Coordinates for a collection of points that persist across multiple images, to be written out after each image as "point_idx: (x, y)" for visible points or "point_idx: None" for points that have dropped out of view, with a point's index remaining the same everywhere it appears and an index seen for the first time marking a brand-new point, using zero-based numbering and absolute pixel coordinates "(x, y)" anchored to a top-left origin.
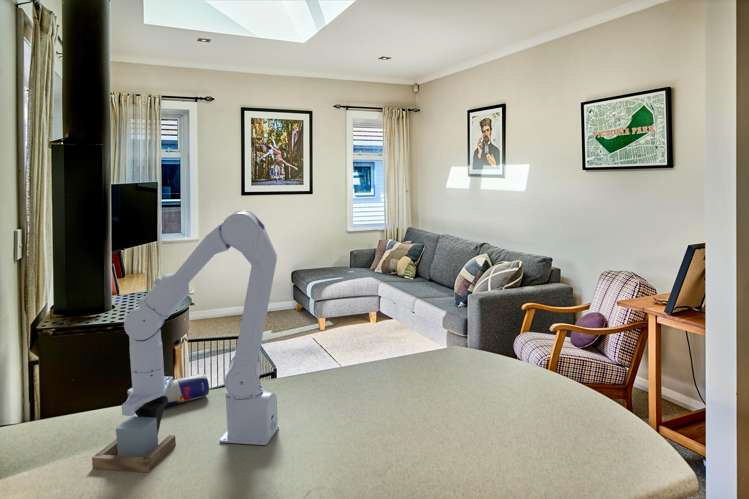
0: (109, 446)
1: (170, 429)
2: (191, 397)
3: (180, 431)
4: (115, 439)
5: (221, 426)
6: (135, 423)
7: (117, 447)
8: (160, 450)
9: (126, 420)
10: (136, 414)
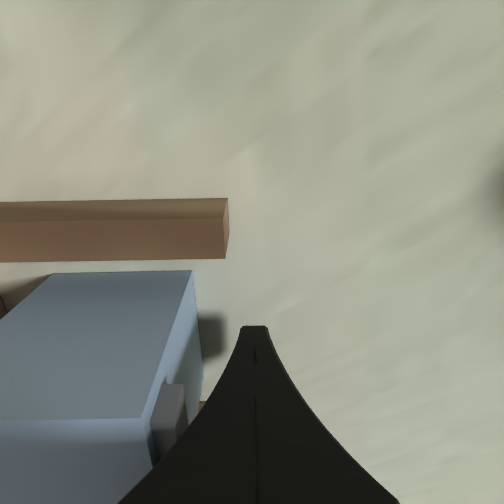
0: (19, 242)
1: (390, 338)
2: None
3: (368, 384)
4: (111, 220)
5: (411, 486)
6: (37, 495)
7: (8, 313)
8: None
9: (50, 420)
10: (174, 445)
